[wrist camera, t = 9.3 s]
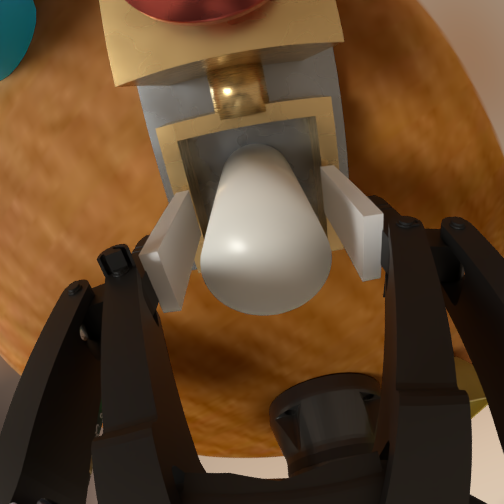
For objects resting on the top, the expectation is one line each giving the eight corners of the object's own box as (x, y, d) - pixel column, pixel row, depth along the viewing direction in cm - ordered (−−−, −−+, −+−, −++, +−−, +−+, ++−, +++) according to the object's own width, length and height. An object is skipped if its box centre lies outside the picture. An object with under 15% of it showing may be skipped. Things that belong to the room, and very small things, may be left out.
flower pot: (396, 387, 34) (414, 441, 27) (433, 345, 30) (461, 403, 22) (436, 385, 35) (456, 431, 28) (471, 346, 31) (498, 394, 23)
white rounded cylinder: (295, 203, 19) (333, 304, 11) (229, 214, 20) (218, 322, 11) (285, 138, 17) (327, 194, 9) (215, 151, 18) (184, 218, 9)
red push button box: (347, 237, 22) (405, 346, 13) (193, 262, 23) (165, 382, 13) (303, -53, 11) (350, -142, 1) (122, -17, 12) (28, -70, 2)
